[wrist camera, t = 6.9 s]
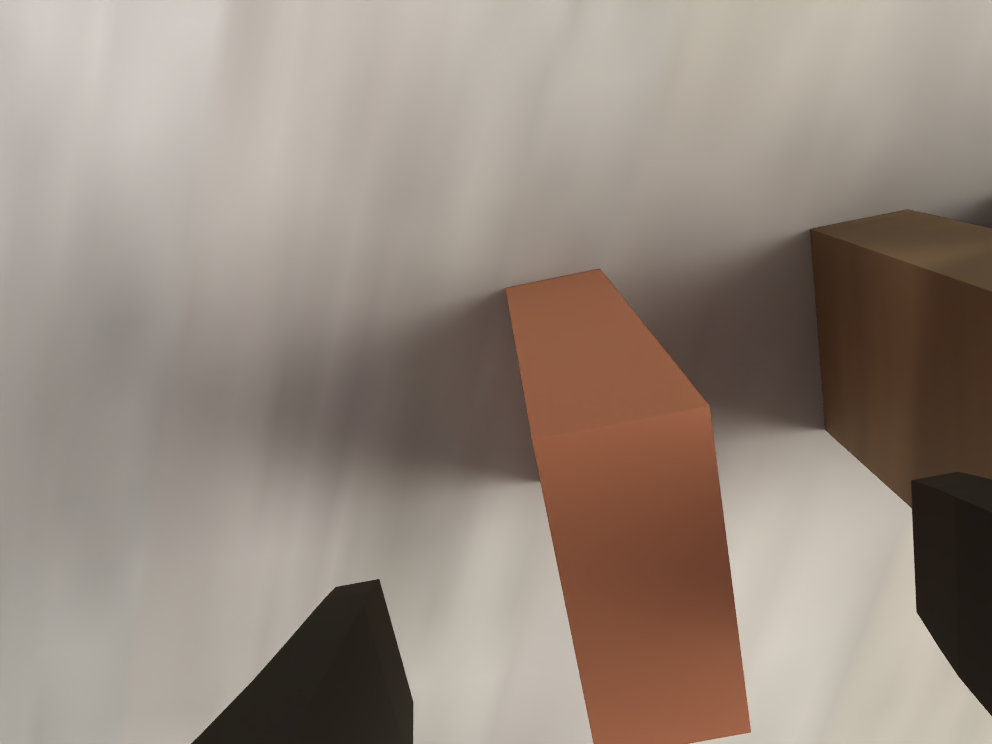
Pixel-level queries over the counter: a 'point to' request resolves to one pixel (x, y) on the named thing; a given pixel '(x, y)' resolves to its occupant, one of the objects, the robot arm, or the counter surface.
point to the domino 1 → (631, 516)
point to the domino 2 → (907, 343)
